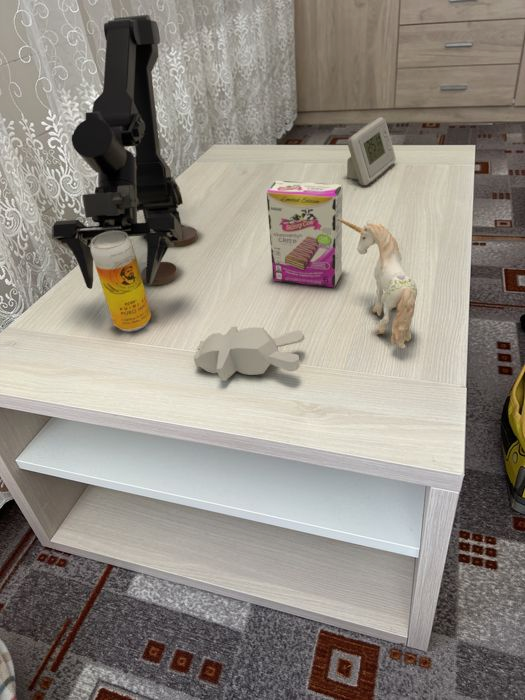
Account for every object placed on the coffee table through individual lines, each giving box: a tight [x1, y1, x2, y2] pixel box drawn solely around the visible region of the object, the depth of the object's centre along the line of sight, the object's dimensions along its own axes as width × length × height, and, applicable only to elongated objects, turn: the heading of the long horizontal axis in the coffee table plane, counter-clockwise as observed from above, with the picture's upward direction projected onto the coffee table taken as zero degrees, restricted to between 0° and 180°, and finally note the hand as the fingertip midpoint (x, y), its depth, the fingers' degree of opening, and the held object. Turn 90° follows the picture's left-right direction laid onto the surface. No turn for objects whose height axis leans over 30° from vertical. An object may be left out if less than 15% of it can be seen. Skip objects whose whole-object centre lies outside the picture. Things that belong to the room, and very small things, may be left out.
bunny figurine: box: [192, 325, 305, 381], centre depth 77 cm, size 10×5×15 cm
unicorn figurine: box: [336, 218, 418, 349], centre depth 80 cm, size 7×20×13 cm, turn 20°
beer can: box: [90, 231, 152, 332], centre depth 85 cm, size 6×6×15 cm
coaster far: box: [174, 225, 199, 248], centre depth 110 cm, size 6×6×1 cm
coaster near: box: [140, 261, 178, 287], centre depth 100 cm, size 6×6×1 cm
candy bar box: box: [266, 180, 343, 289], centre depth 90 cm, size 11×5×16 cm, turn 71°
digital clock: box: [346, 116, 397, 186], centre depth 125 cm, size 16×9×11 cm, turn 134°
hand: (119, 286), depth 83 cm, fingers open, 9 cm apart
